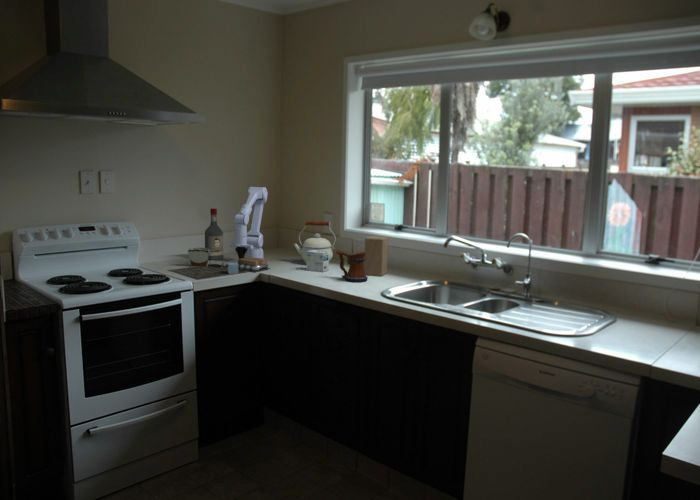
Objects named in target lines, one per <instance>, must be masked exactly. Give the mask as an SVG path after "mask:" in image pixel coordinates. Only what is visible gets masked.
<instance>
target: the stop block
mask: <svg viewBox="0 0 700 500" xmlns="http://www.w3.org/2000/svg"><path fill="white" fill-rule="evenodd" d="M227 273H229V274H228V275H236V274H237V275H239V270H238V263H228V269H227Z"/></svg>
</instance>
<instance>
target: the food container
mask: <svg viewBox="0 0 700 500" xmlns="http://www.w3.org/2000/svg"><path fill="white" fill-rule="evenodd" d="M187 253H188V258H189V266H190V268H191V267H192V268H208V267H209V265H208V264H209V260H208V255H209V253H210V250H209V249H208V248H205V247H190V248H188V249H187Z"/></svg>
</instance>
